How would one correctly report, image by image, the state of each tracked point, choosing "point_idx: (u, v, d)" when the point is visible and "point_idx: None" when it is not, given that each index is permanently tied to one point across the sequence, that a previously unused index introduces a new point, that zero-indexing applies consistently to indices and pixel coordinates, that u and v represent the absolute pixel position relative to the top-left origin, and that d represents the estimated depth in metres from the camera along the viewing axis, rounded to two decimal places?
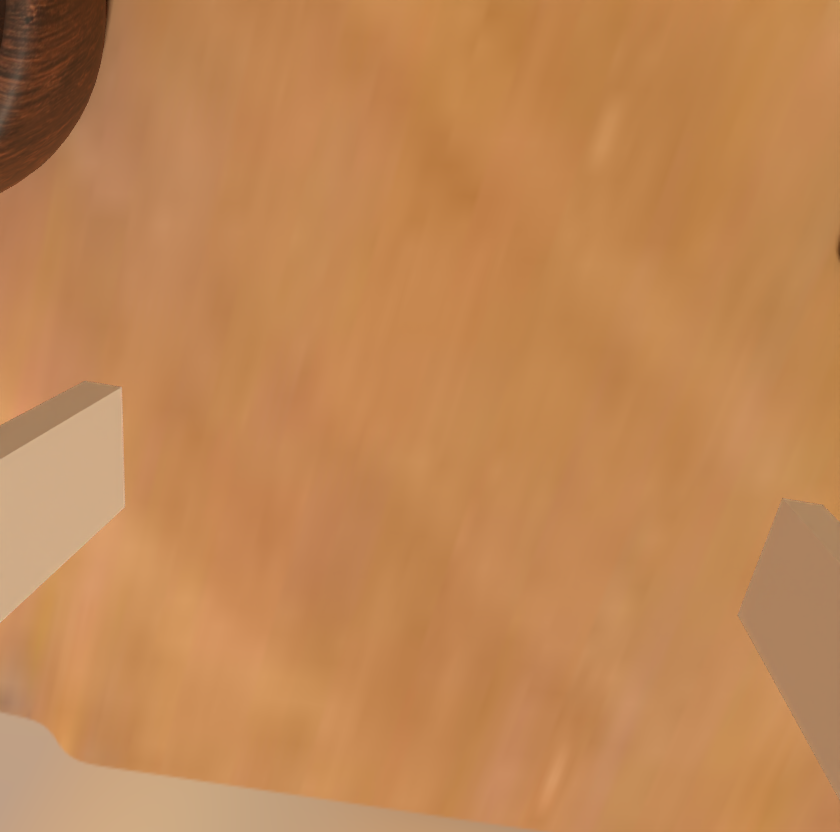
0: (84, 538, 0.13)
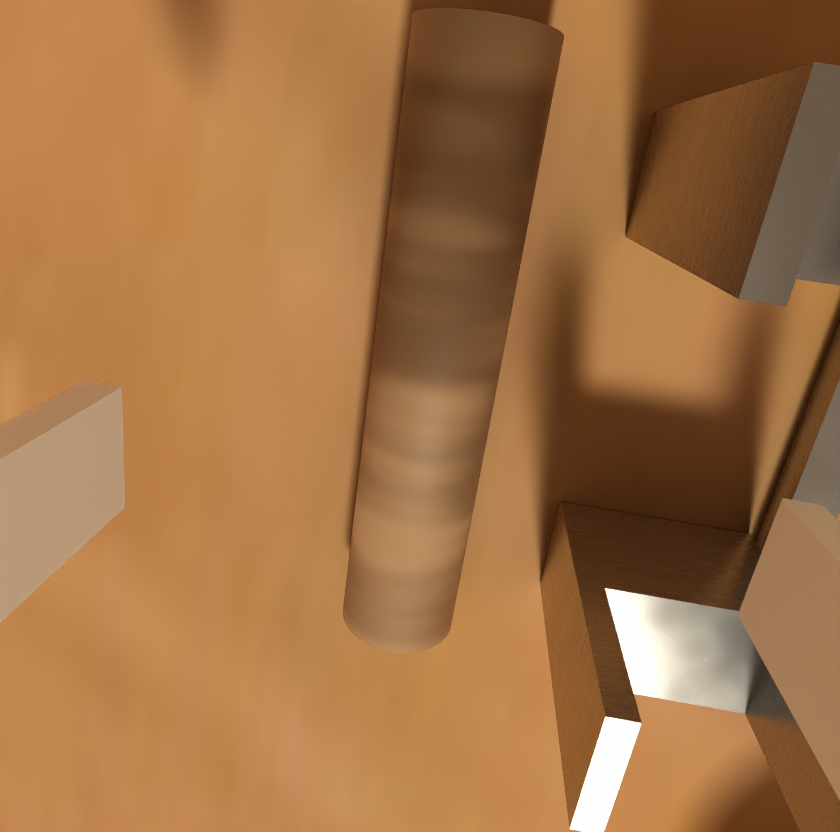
0: (84, 538, 0.13)
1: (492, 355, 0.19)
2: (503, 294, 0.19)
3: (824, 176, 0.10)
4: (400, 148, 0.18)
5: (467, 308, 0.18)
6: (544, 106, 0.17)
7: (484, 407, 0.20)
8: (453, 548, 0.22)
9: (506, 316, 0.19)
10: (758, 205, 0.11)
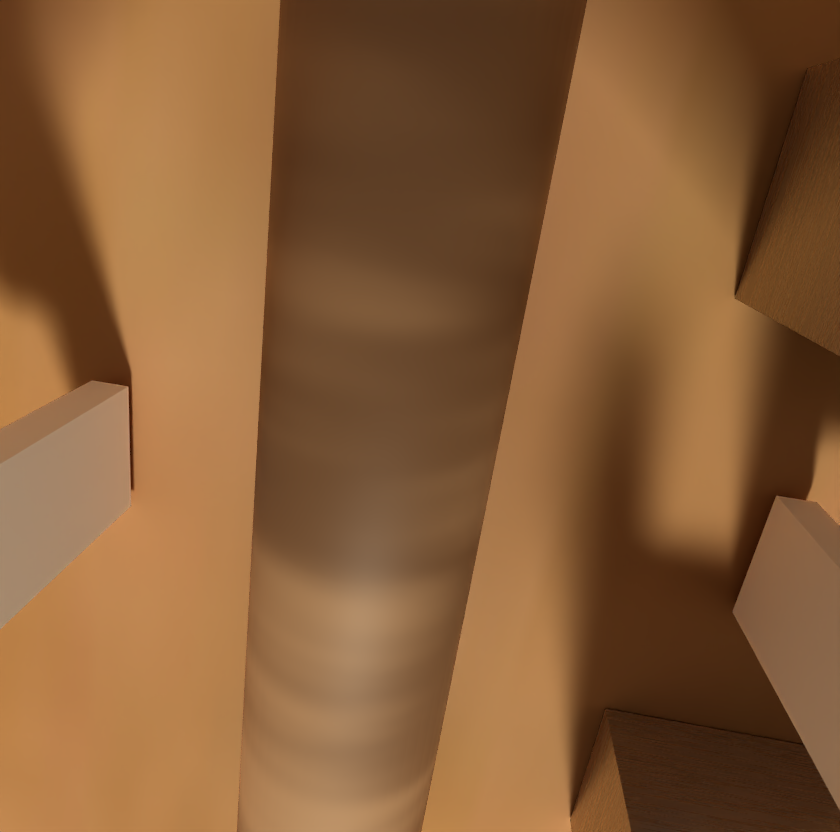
0: (91, 537, 0.13)
1: (438, 530, 0.10)
2: (457, 420, 0.09)
3: None
4: None
5: (372, 445, 0.09)
6: (542, 31, 0.08)
7: (429, 617, 0.11)
8: None
9: (469, 459, 0.10)
10: None
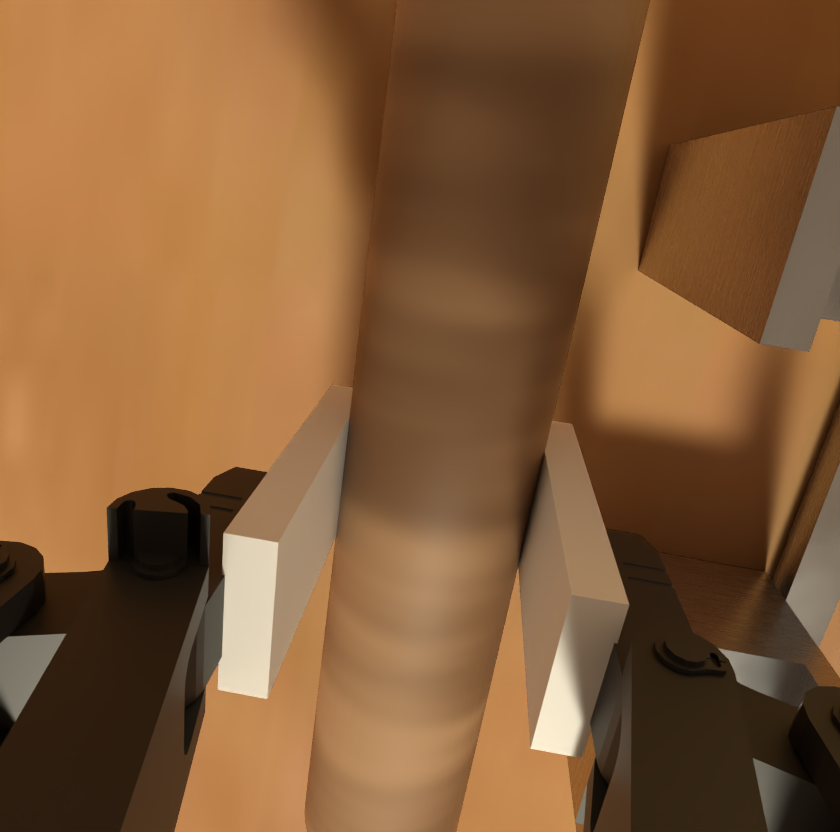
0: None
1: (510, 487, 0.12)
2: (530, 395, 0.12)
3: None
4: None
5: (464, 416, 0.11)
6: (609, 90, 0.10)
7: (498, 562, 0.13)
8: (447, 756, 0.14)
9: (537, 428, 0.12)
10: (779, 249, 0.11)
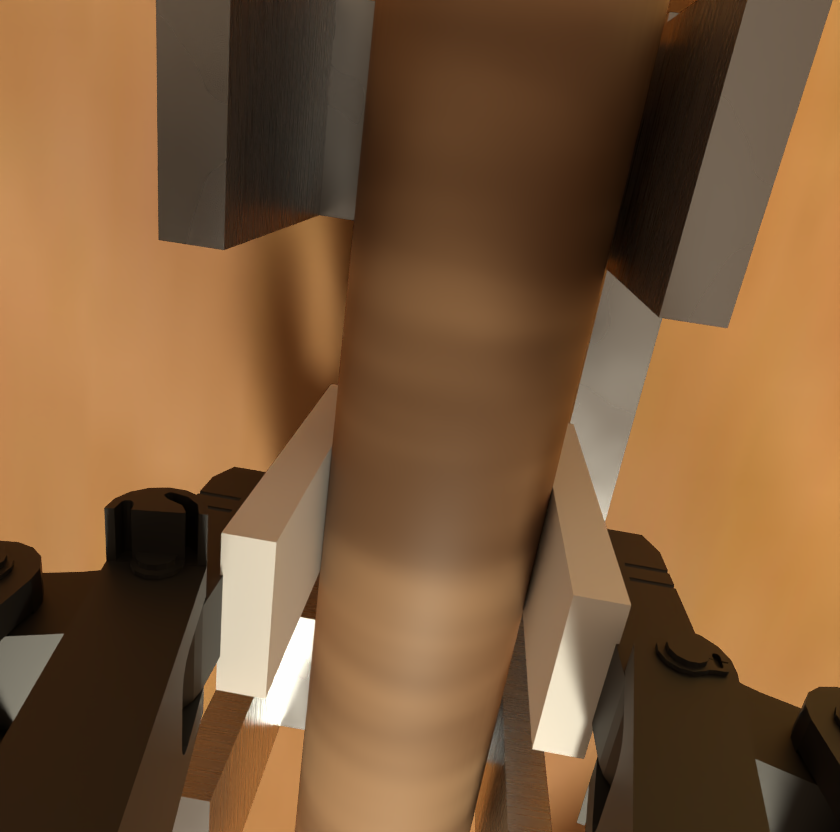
0: None
1: (535, 511, 0.11)
2: (558, 410, 0.10)
3: (216, 53, 0.07)
4: (366, 143, 0.09)
5: (492, 442, 0.10)
6: (649, 58, 0.09)
7: (518, 591, 0.12)
8: (463, 800, 0.13)
9: (559, 444, 0.11)
10: (173, 104, 0.08)
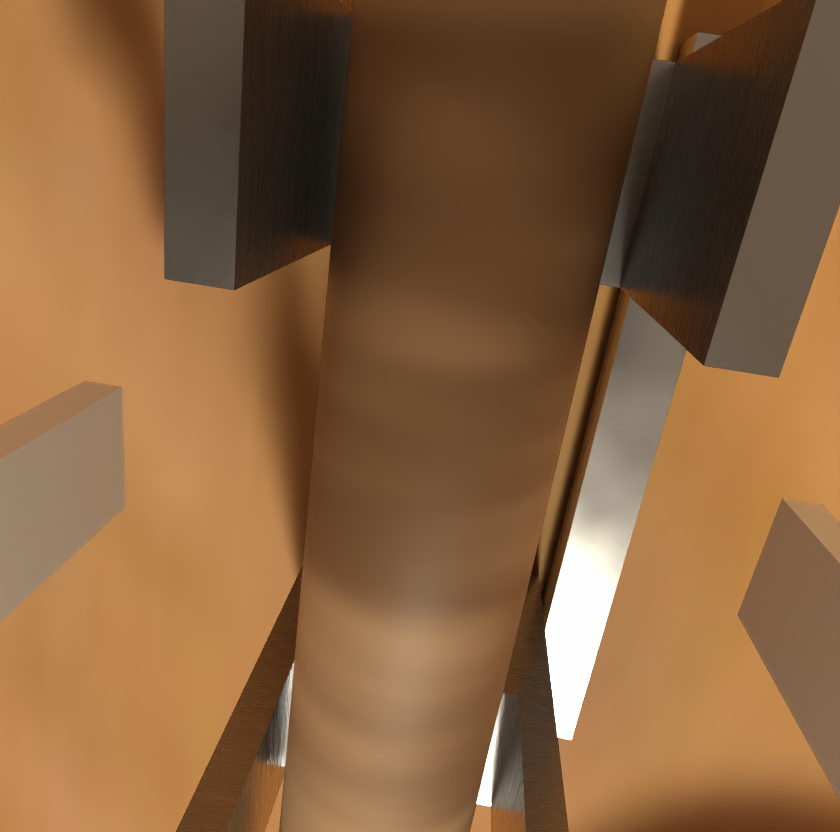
0: (84, 538, 0.13)
1: (495, 564, 0.10)
2: (519, 454, 0.09)
3: (228, 82, 0.07)
4: (338, 165, 0.09)
5: (433, 479, 0.09)
6: (618, 70, 0.08)
7: (482, 650, 0.11)
8: None
9: (529, 493, 0.10)
10: (182, 136, 0.07)
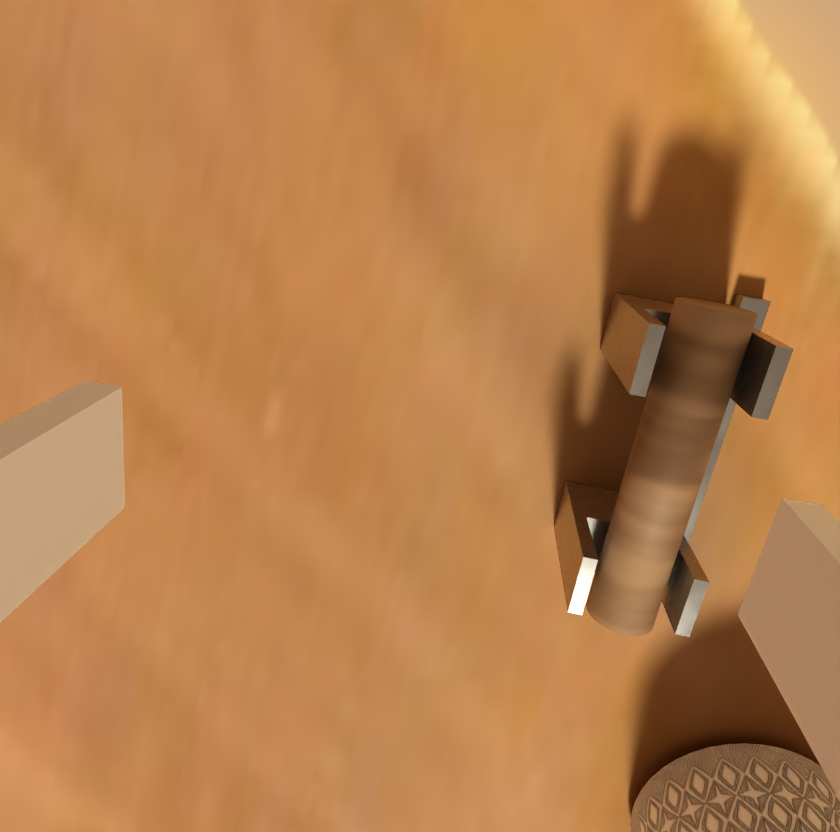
0: (84, 538, 0.13)
1: (704, 469, 0.35)
2: (714, 438, 0.35)
3: (654, 356, 0.32)
4: (665, 363, 0.34)
5: (697, 447, 0.34)
6: (746, 348, 0.33)
7: (695, 496, 0.36)
8: (667, 575, 0.38)
9: (712, 449, 0.35)
10: (635, 363, 0.33)
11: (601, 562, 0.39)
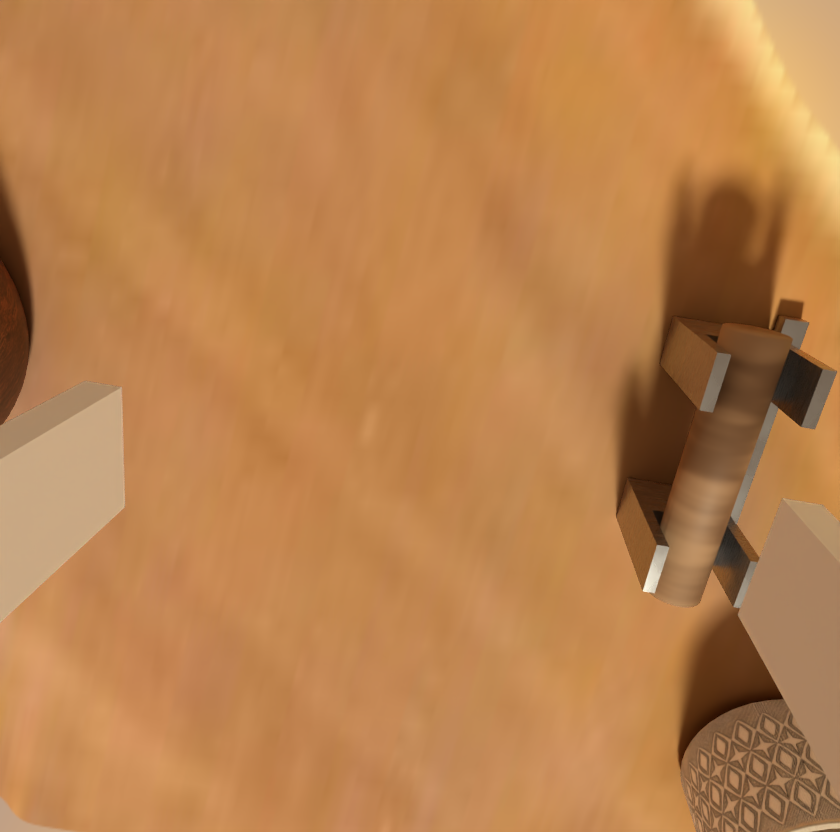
0: (84, 538, 0.13)
1: (740, 469, 0.42)
2: (750, 443, 0.41)
3: (721, 379, 0.39)
4: None
5: (730, 448, 0.41)
6: (779, 368, 0.40)
7: (733, 492, 0.42)
8: (708, 558, 0.44)
9: (750, 452, 0.42)
10: (704, 384, 0.39)
11: None
